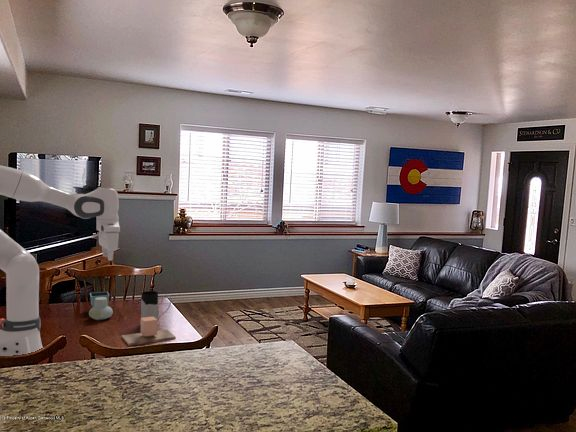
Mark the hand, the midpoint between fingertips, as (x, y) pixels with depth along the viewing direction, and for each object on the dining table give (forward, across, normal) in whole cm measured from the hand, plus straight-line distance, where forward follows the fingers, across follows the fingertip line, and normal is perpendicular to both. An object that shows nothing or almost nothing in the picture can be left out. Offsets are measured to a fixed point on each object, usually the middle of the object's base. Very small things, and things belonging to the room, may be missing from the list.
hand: (107, 258), depth 213 cm
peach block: (+33, +5, +16) cm, 37 cm away
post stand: (+35, +5, +16) cm, 39 cm away
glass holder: (+35, -15, +25) cm, 46 cm away
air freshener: (+35, -35, +4) cm, 50 cm away
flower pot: (+35, -49, +6) cm, 61 cm away
